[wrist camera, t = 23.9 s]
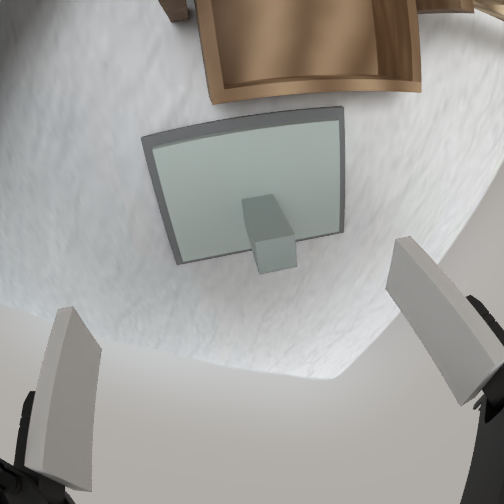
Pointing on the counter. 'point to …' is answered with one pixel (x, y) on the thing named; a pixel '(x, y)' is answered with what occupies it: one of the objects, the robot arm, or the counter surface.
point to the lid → (253, 190)
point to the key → (490, 7)
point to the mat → (231, 125)
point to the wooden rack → (309, 44)
